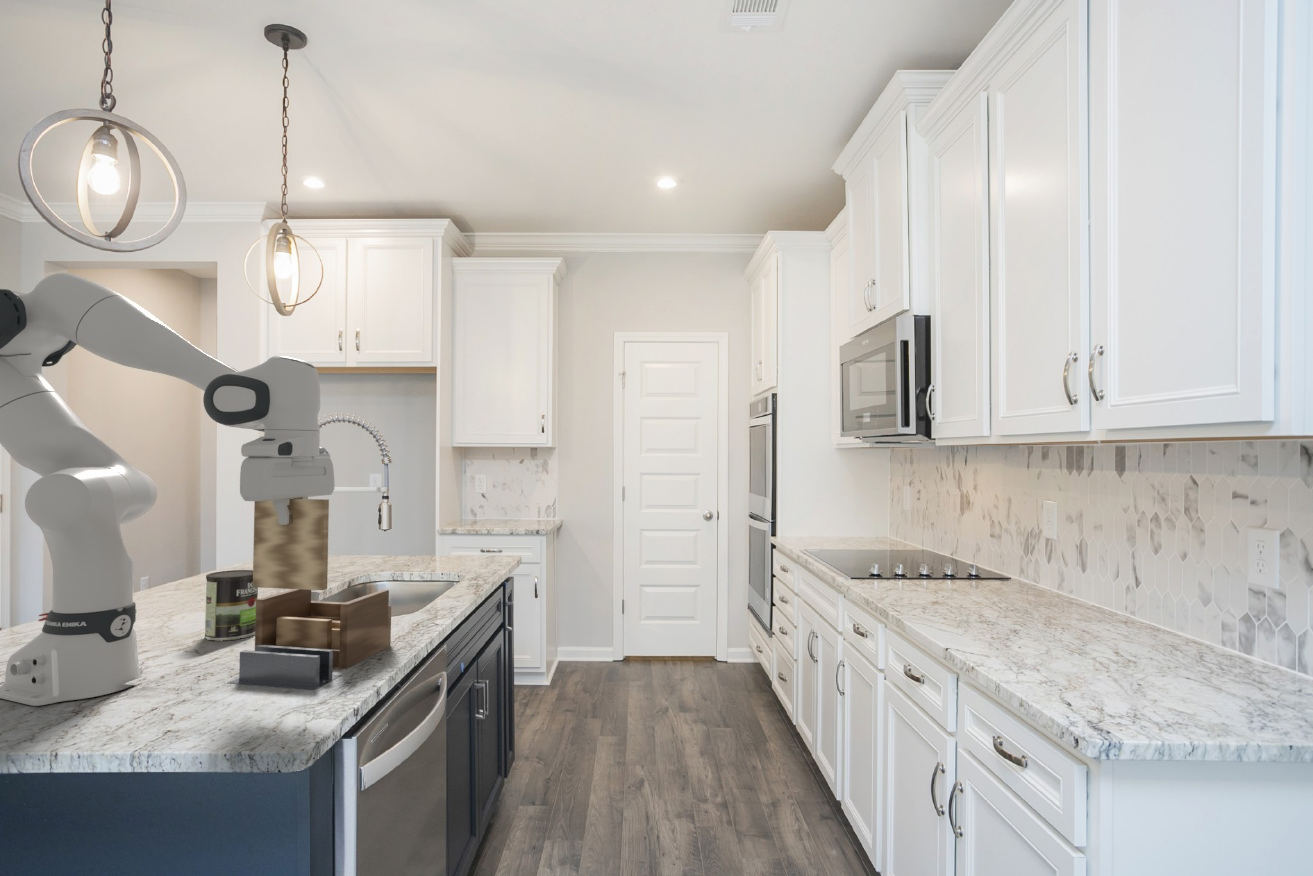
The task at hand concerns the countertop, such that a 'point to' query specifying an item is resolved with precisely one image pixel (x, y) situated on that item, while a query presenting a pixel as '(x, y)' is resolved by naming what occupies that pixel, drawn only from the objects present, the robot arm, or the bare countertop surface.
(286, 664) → the stand
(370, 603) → the board rack
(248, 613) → the coffee can
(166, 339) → the robot arm
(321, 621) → the small boards
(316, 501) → the cutting board
